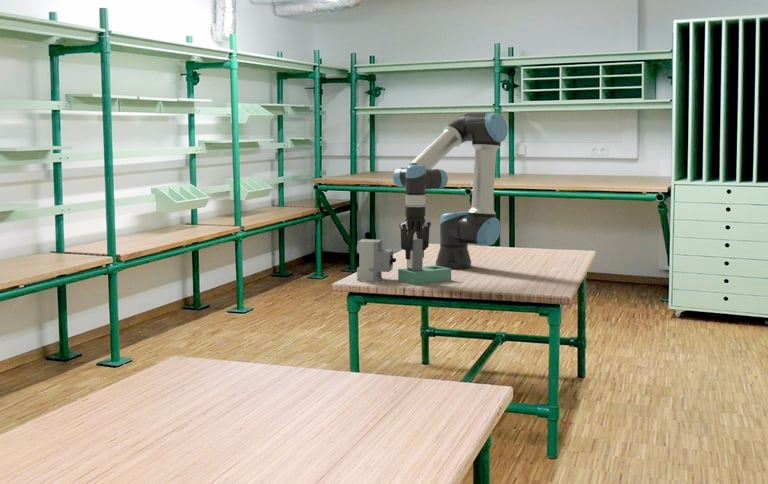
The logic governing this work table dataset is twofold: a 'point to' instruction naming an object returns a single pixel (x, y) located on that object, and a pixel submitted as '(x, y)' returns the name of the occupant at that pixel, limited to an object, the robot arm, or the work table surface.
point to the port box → (425, 275)
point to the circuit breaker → (373, 260)
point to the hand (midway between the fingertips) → (414, 267)
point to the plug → (417, 254)
